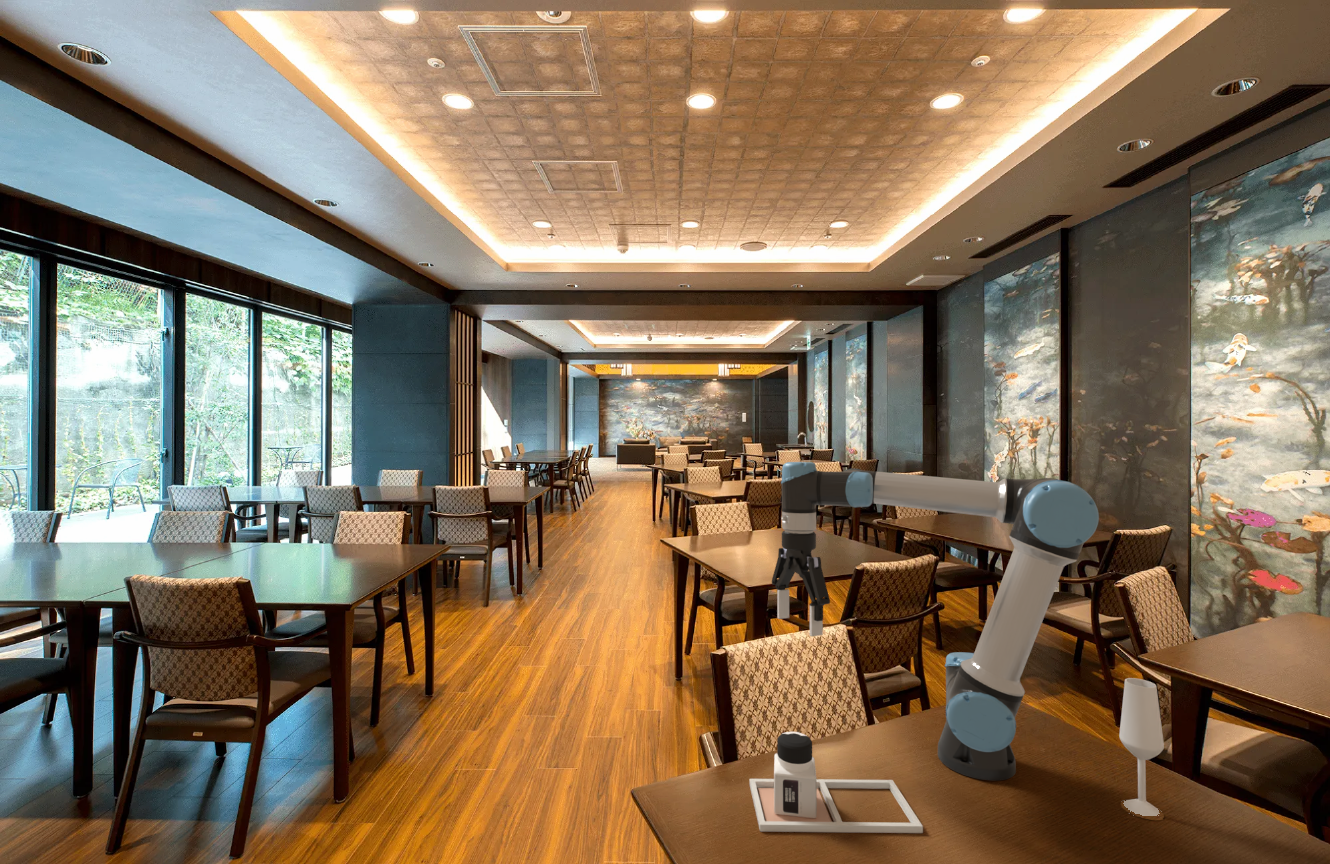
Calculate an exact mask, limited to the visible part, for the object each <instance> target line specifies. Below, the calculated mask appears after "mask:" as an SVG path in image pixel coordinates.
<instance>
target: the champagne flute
mask: <svg viewBox="0 0 1330 864" xmlns="http://www.w3.org/2000/svg"><path fill="white" fill-rule="evenodd" d="M1121 707H1122V708H1121V716H1120V725H1119V726H1120V727H1119V740H1120V741H1121V744H1122V745H1123V747H1125V749H1127V751H1129V753H1131V755H1133V757H1136V759H1137V798H1132V799H1125V800H1126V801H1125V800H1123V801H1124V803H1123V804H1124V806H1125V807H1126V808H1128V810H1130V812H1131V811H1132V812H1134V813H1135V814H1140V815H1142V816H1157V815H1158V814H1160V813H1159V810H1160V809H1159V808H1157V807H1156V806H1154V805H1153V804H1152V803H1150V802H1148V801H1147V790H1146V789H1147V784H1146V783H1147V781H1146V772H1147V771H1146V760H1147V761H1149V760H1151V759H1153V758H1155V757H1157V756H1158V755H1160V754H1161V753H1162V752H1163V750H1164V748H1165V744H1164V735H1163V729H1162V721H1161V712H1160V711H1161V710H1160V704H1159V697H1158V690H1157V685H1156V684H1155V683H1154V682H1151V681H1149V680H1145V679H1142V678H1134V677H1133V678H1132V677H1128V678H1125V679H1124V686H1123V697H1122V706H1121ZM1158 809H1159V810H1158ZM1158 816H1159V815H1158Z"/></svg>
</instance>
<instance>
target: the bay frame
mask: <svg viewBox="0 0 1330 864" xmlns="http://www.w3.org/2000/svg"><path fill="white" fill-rule="evenodd" d="M816 782H817V817H816V818H815V819H813V818H805V817H796V816H787V815H779V814H775V813H774V778H749V788H750V793H751V796H752V802H753V806H754V810H755V815H756V819H757V824H758V829H759V832H765V833H766V832H771V833H773V832H774V833H775V832H778V833H780V832H782V833H784V832H785V833H787V832H789V833H794V832H795V833H867V834H868V833H872V834H873V833H874V834H875V833H878V834H880V833H881V834H883V833H885V834H887V833H889V834H890V833H891V834H893V833H894V834H923V833H924V825H923V824H922V823H921V821H920V820H919V818H918V817H917V814H915V812H914V811H913V809H912V807H911V806H910V805H909V803H908V801H907V800H906V798H905V797H904V795H903V794H902V792H901V791H900V789H899V787H898V786H897V785H896V783H895V782H894V780H893V779H837V778H836V779H827V778H826V779H821V778H820V779H817V778H816ZM829 789H869V790H870V789H874V790H875V789H879V790H880V789H881V790H883V789H889V791H890V792H891V794H892V795H893V797H894V799H895V800H896V802H897V803H898V805H899V806H900V808H901V809H902V811H903V813H904V814H905V816H906V817H907V819H908V820H909V822H881V821H879V822H871V821H868V822H865V821H862V822H861V821H856V822H855V821H842V818H841V815H840V814H839V811H838V809H837V806H836V804H835V803H834V800H833V798H832V796H831V794H830V791H829ZM820 792H821V793H820ZM822 797H823V798H822ZM823 799H824V800H823ZM825 804H826V805H825ZM827 808H828V809H827ZM828 810H829V812H828ZM829 813H830V814H829ZM830 816H831V817H830ZM831 818H832V819H831ZM832 820H833V821H832Z"/></svg>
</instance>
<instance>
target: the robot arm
mask: <svg viewBox="0 0 1330 864" xmlns="http://www.w3.org/2000/svg"><path fill="white" fill-rule="evenodd" d="M816 467H817V466H816V463H815V462H812V461H810V462H809V461H788V462H785V463H783V465H782V470H781V481H780V484H781V517H780V518H781V528H782V529H783V531H782V532H781V547H779V548H778V555H777V560H776V563H775V568H774V571H773V575H772V578H771V584H772V586H773V585H774V586H775V589H776V592H777V593H776V595H777V597H776V600H777V601H776V602H777V605H776V606H777V610H776V612H777V614H776V615H777V617H776V618H777V619H779V620H783V619H790V586H789V585H790V583H791V581H792V580H793V577H794V575H795V573H796V574H797V575H798V576H799V577H800V578H801V579H802V581H803V584H804V586H805V588H806V591H807V593H808V597H809V600H810V603H809V636H810V637H818V636H823V634H824V633H823V631H824V629H823V628H824V627H823V621H824V606H825V605H830V603H831V599H830V596H829V592H828V589H827V588H828V587H827V584H826V580H825V576H824V572H823V569H822V558H821V557H819V556H813V555H812V551H813V550H815V549H816V548H817V534H816V532H815V530H817V506H833V507H835V506H838V507H849V508H850V507H852V508H869V507H870V506H871V505H872V504H876V505H885V506H892V507H900V508H901V507H902V508H910V509H918V510H919V509H920V510H927V511H935V512H936V511H938V512H944V513H954V514H961V515H962V514H964V515H969V516H970V515H971V516H981V517H987V518H988V517H990V518H996V519H997V520H998V521H999V522H1000V523H1001V524H1008V525H1009V524H1010V525H1012V527H1011V530H1010V532H1009V535H1008V537H1009V540H1010V541H1011V543H1012V545H1013V551H1012V553H1011V556H1010V559H1008V564H1007V566H1006V569H1005V572H1004V574H1003V577H1002V580H1001V582H1000V584H999V587H998V589H997V592H996V595H995V598H994V601H993V602H992V606H991V607H990V611H989V613H988V616H987V619H986V621H985V624H984V627H983V629H982V632H981V635H980V637H979V640H978V642H977V645H976V648H975V649H974V650H975V651H974V652H964V651H963V652H962V651H961V652H960V651H959V652H957V651H956V652H950V653H949V654H947V655H946V657H945V664H944V667H945V718H946V719H945V723H944V727H943V729H942V732H941V733H940V738H939V740H938V743H937V757H938V759H939V760H940V762H941V763H942V764H943V765H945V767H947V768H949V769H950V770H952V771H953V772H955V773H958V774H961V775H963V776H966V777H970V778H973V779H977V780H983V781H994V782H995V781H996V782H997V781H1005V780H1009V779H1010V778H1012V777H1013V776H1015V774H1016V772H1017V771H1016V770H1017V768H1016V766H1017V765H1016V763H1017V762H1016V757H1015V754H1014V751H1013V749H1012V745H1011V743H1012V742H1013V740H1014V738H1015V735H1016V732H1017V731H1016V729H1017V721H1016V716H1017V714H1018V711H1019V708H1020V707H1021V704H1022V701H1023V698H1024V695H1025V693H1026V691H1025V689H1024V687H1023V685H1022V683H1021V678H1022V675H1023V672H1024V669H1025V666H1026V664H1027V662H1028V660H1029V659H1028V658H1029V656H1030V654H1031V652H1032V649H1033V646H1034V643H1035V640H1036V639H1037V636H1038V634H1039V631H1040V629H1041V627H1042V626H1041V625H1042V623H1043V620H1044V618H1045V617H1046V613H1047V611H1048V608H1049V605H1050V603H1051V600H1052V598H1053V595H1054V593H1055V590H1056V588H1057V585H1058V582H1059V581H1060V578H1061V575H1062V572H1063V570H1064V568H1065V566H1067V565H1069V564H1073V563H1076V562H1077V561H1078V559H1079V556H1080V553H1081V552H1082V549H1083V545H1084V544H1085V542H1087V541H1088V540H1089V539H1090V538H1091V537H1092V536H1093V535H1094V534H1095V532H1096V530H1097V527H1098V525H1099V521H1100V520H1099V519H1100V515H1099V514H1100V513H1099V510H1098V507H1097V505H1096V502H1095V501H1094V499H1093V498H1092V496H1091V495H1090V494H1089V493H1088V492H1087V491H1086V490H1085V488H1084V489H1083V488H1082V487H1081V486H1080V485H1078V484H1075V483H1073V482H1071V481H1066V480H1061V479H1058V478H1051V477H1046V478H1030V479H1029V478H1027V479H1026V478H1022V479H1021V478H1005V477H1004V478H1003V479H1001V480H999V481H997V482H996V481H988V480H987V481H986V480H976V479H964V478H963V479H962V478H955V477H954V478H951V477H944V476H943V477H942V476H941V477H939V476H931V475H929V476H928V475H919V474H908V473H907V474H906V473H896V472H886V471H885V472H884V471H874V470H873V471H872V470H861V469H859V468H849V469H845V470H843V471H823V470H818V469H817V468H816Z"/></svg>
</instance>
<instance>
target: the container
mask: <svg viewBox="0 0 1330 864" xmlns="http://www.w3.org/2000/svg"><path fill="white" fill-rule="evenodd" d="M776 741H777V745H776V746H777V747H776V748H777V752H776V753H774V757H773V759H774V762H773V763H774V765H773V779H774V813H775V814H779V815H787V816H796V817H805V818H813V819H815V818H816V817H817V782H816V779H817V771H816V769H817V768H816V763H815V762H816V761H815V757H813V741H812V739H811V738H810V737H809V736H808V735H806V734H804V733H801V732H799V731H786V732H783V733H781V734H780V735H779V736H778V737H777V739H776Z"/></svg>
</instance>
